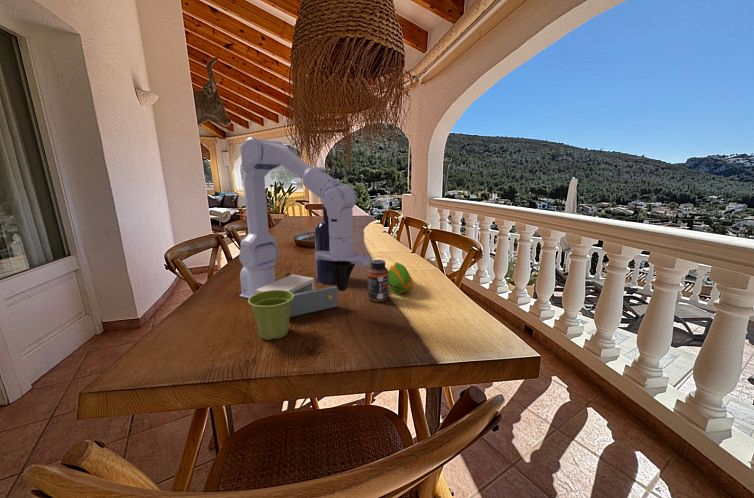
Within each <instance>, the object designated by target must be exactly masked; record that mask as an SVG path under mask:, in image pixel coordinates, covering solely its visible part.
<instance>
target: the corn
mask: <svg viewBox="0 0 754 498" xmlns="http://www.w3.org/2000/svg"><path fill="white" fill-rule="evenodd" d="M413 282H414V281H413V278H412V276H411V275H410V273H409V271H408V269H407V268H406V266H404V265H403V264H401V263H399V262H395V263H394V264H392V265H390V266H389V269H388V289H390V291H391V292H393V293H395V294H396V293H397V294H407V293H410V292H411V290H412V289H413ZM390 284H391V285H390Z"/></svg>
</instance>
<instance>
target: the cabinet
mask: <svg viewBox="0 0 754 498" xmlns="http://www.w3.org/2000/svg"><path fill="white" fill-rule="evenodd" d="M269 290H286V291H289V292H292V293H293V294H296V293H302V292H307V291H312V290H316V287H315V278H314V277H311V276H310V277H309V276H302V275H297V274H290V275H287V276H285V277H283V278H280V279H278V280H275V282H273V283H271V284H268V285H266V286H264V287H261V288H259V289H257V290H256V294H257V293H260V292H263V291H269Z"/></svg>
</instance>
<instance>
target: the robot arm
mask: <svg viewBox="0 0 754 498" xmlns="http://www.w3.org/2000/svg"><path fill="white" fill-rule="evenodd" d="M239 149H240V159H241V167H242V168H241V169H242V170H241V171H242V181H243V182H242V183H243V192H244V193H243V194H244V203H245V213H246V223H247V235H246V236H245V237H244V238H243V239H242V240H241V241H240V250H239V255H238V256H239V262H240V263H241V265H242V266H243V267H242V268H241V270H240V273H239V279H240V287H241V288H240V290H241V293H240V294H239V297H241V298H245V299H249V298H250V297H251V296H252V295H254V294H256V290H257V289H259V288H261V287H264V286H266V285H268V284H271V283H273V282H275V281H276V277H275V276H276V275H275V272H276V271H275V265H276V264H277V262H276V261H277V260H279V257H280V250H279V246H278V245H277V241H276V240H277V239H276V237H274V235H272V234H270V231H269V229H270V228H269V219H268V217H269V216H268V206H267V205H268V203H267V194H266V182H265V181H266V180H265V178H266V176H267V175H268V174H269V173H270V172H272V171H273V170H275V169H277V168H278V167H280V166H283V167H284V168H285V169H287V170H289V171H290V172H292V173H293V174H295V175H296V176H298V178H300V179H302V184H303V187H305V188H306V189H307V190H308V191H310V192H311V193H312V194H314V196H316V197H317V198H319V199H320V200H322V201H321V203H322V202H323V205H324V207H325V208H326V210H327V216H328V221H329V248H330V251H317V252H316V251H315V252H314V259H315V261H316V260H320V259H321V260H329V261H331V262H330V264H328V268H329V269H330V271H331V272H332V274H333V276H334V279H335V281H336V287H337V292H345V291H346V290H347V289H348V284H349V279H350V276H351V274H352V272H353V269H354V267H355V265H359V266H363V267H368V266H369V265H371V256H369V255H363V254H360V253H357V252H354V229H353V227H354V224H353V222H354V221H353V220H354V219H353V218H354V217H353V207H355V205H356V204H357V200H358V199H357V198H358V197H357V193H356V191H355V189H354V188H353V187H352V186H351V185H349V184H341V180H340V179H338V178H333V176H331V175H329V174H328V173H327V172H326V171H327V170H326V168H324V167H322V166H313V167H311V166H310V165H308V164H307V163H306V162H305V161H303V159H301V158H300V157H299V156H297V155H296V154H295V153H294V152H293V151H292V150H290V148H289V146H288V145H286V144H284V143H283V142H281V141H279V140H270V139H264V138H257V137H253V136H250V137H247V138H246V139H245V140H244V141H243V142H242V144H241V146H240V148H239ZM323 205H322V206H323Z"/></svg>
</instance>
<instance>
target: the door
mask: <svg viewBox="0 0 754 498" xmlns="http://www.w3.org/2000/svg"><path fill="white" fill-rule="evenodd" d="M336 307H338V288H337V285H336V286H329V287H323V288H318V289H315V290H312V291H307V292H302V293H296V294H294V298H293V300H292V304H291V307H290V317H289V318H292V317H297V316H300V315H301V316H302V315H306V314H309V313H314V312H318V311H323V310H328V309H331V308H336Z"/></svg>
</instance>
